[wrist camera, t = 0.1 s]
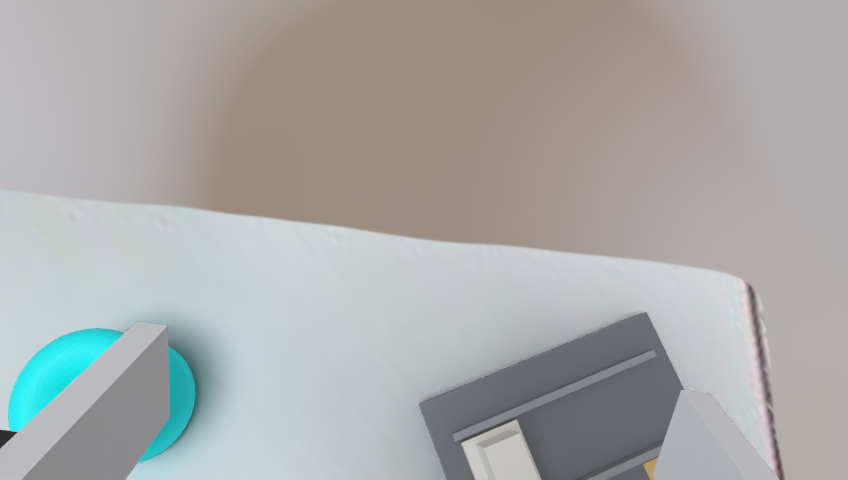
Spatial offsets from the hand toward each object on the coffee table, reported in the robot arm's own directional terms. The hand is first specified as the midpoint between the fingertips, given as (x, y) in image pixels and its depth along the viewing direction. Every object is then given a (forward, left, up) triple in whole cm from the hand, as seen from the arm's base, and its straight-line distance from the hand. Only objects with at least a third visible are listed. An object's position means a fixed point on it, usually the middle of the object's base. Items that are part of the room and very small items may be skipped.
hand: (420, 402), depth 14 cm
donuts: (+8, +20, -36) cm, 42 cm away
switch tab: (-8, -6, -34) cm, 35 cm away
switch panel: (-8, -13, -36) cm, 39 cm away
